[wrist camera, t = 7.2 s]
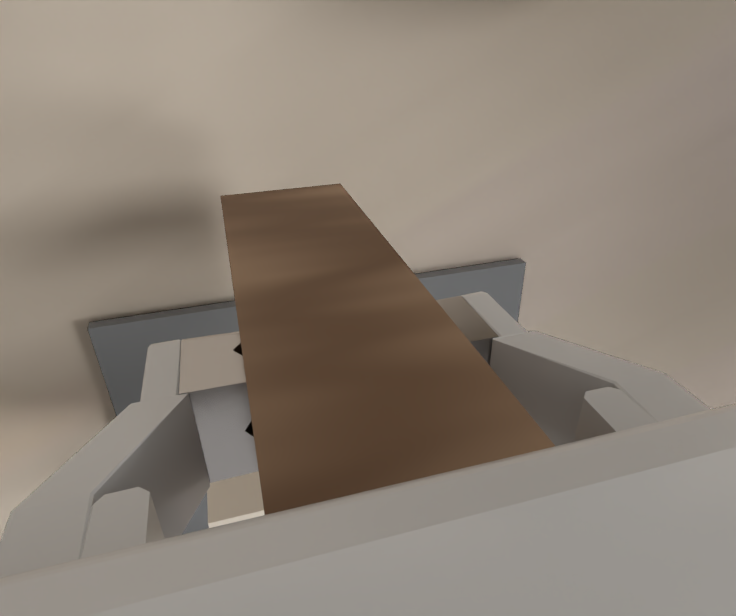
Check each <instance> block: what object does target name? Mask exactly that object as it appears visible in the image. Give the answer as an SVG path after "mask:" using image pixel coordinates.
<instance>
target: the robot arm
mask: <svg viewBox="0 0 736 616" xmlns="http://www.w3.org/2000/svg"><path fill="white" fill-rule="evenodd" d="M436 301H437V302H438V303H439V305H440V306H441V307H442V308H443V310H444V311H445V312H446V313H447V314H448V316H449V317H450V318H451V319H452V321H453V322H454V323H455V324H456V325H457V327H458V328H459V329H460V330H461V332H462V333H463V334H464V335H465V336H466V338H467V339H468V340H469V341H470V342H471V344H472V345H473V346H474V347H475V349H476V350H477V351H478V352H479V353H480V355H481V356H482V357H483V358H484V360H485V361H486V362H487V363H488V364H489V366H490V367H491V368H492V369H493V371H494V372H495V373H496V374H497V375H498V377H499V378H500V379H501V380H502V381H503V383H504V384H505V385H506V386H507V388H508V389H509V390H510V391H511V392H512V394H513V395H514V396H515V397H516V399H517V400H518V401H519V402H520V403H521V405H522V406H523V407H524V408H525V410H526V411H527V412H528V413H529V414H530V416H531V417H532V418H533V419H534V420H535V422H536V423H537V424H538V425H539V427H540V428H541V429H542V430H543V431H544V433H545V434H546V435H547V436H548V438H549V439H550V440H551V441H552V442H553V444H554V445H555V446H554V447H550V448H546V449H542V450H538V451H533V452H529V453H525V454H521V455H516V456H512V457H508V458H504V459H500V460H495V461H491V462H487V463H483V464H479V465H474V466H470V467H466V468H462V469H457V470H453V471H449V472H445V473H441V474H436V475H432V476H428V477H424V478H419V479H415V480H411V481H407V482H402V483H398V484H394V485H390V486H386V487H381V488H377V489H373V490H369V491H364V492H360V493H356V494H352V495H348V496H343V497H339V498H335V499H331V500H326V501H322V502H318V503H314V504H309V505H305V506H301V507H297V508H293V509H288V510H284V511H280V512H276V513H271V514H267V515H263V516H259V517H254V518H250V519H246V520H242V521H238V522H233V523H229V524H225V525H221V526H216V527H212V528H208V529H204V530H200V531H195V532H191V533H187V534H183V535H182V533H183V531H184V530H185V528H186V526H187V524H188V523H189V521H190V519H191V518H192V516H193V514H194V513H195V511H196V509H197V508H198V506H199V504H200V503H201V501H202V499H203V497H204V496H205V494H206V492H207V491H208V489H209V487H210V483H212V482H216V481H220V480H225V479H229V478H233V477H237V476H241V475H245V474H249V473H253V472H257V471H259V470H258V463H257V456H256V449H255V441H254V434H253V427H252V420H251V413H250V405H249V398H248V391H247V384H246V376H245V369H244V362H243V355H242V347H241V340H240V333H239V331H238V332H231V333H224V334H217V335H209V336H202V337H195V338H188V339H182V341H181V340H180V339H178V340H172V341H166V342H161V343H155V344H151V345H150V346H149V347H148V350H147V357H146V364H145V371H144V378H143V385H142V392H141V399H140V402H136V403H131V404H130V405H129V406H128V407H127V408H125V409H124V410H123V411H122V412H121V413H120V414H119V415H118V416H117V417H115V418H114V419H113V420H112V421H111V422H110V423H109V424H108V425H107V426H105V427H104V428H103V429H102V430H101V431H100V432H99V433H98V434H97V435H95V436H94V437H93V438H92V439H91V440H90V441H89V442H88V443H87V444H86V445H84V446H83V447H82V448H81V449H80V450H79V451H78V452H77V453H76V454H74V455H73V456H72V457H71V458H70V459H69V460H68V461H67V462H66V463H64V464H63V465H62V466H61V467H60V468H59V469H58V470H57V471H56V472H54V473H53V474H52V475H51V476H50V477H49V478H48V479H47V480H46V481H45V482H43V483H42V484H41V485H40V486H39V487H38V488H37V489H36V490H35V491H33V492H32V493H31V494H30V495H29V496H28V497H27V498H26V499H25V500H23V501H22V502H21V503H20V504H19V505H18V506H17V507H16V508H15V509H13V510H12V511H11V513H10V516H9V519H8V522H7V524H6V527H5V530H4V532H3V535H2V538H1V540H0V616H736V404H732V405H728V406H723V407H719V408H715V409H710V408H709V407H708V406H706V405H705V404H704V403H703V402H701V401H700V400H699V399H697V398H696V397H695V396H694V395H692V394H691V393H690V392H688V391H687V390H686V389H685V388H683V387H682V386H681V385H680V384H678V383H677V382H676V381H674V380H673V379H672V378H671V377H669V376H668V375H667V374H666V373H663V372H660V371H657V370H654V369H651V368H648V367H645V366H642V365H639V364H635V363H632V362H629V361H626V360H623V359H620V358H617V357H614V356H611V355H608V354H605V353H602V352H599V351H596V350H593V349H589V348H586V347H583V346H580V345H577V344H574V343H571V342H568V341H565V340H562V339H559V338H556V337H553V336H550V335H546V334H543V333H540V332H537V331H531V332H527V331H526V330H525V329H524V328H523V327H522V326H521V325H520V324H519V323H518V322H517V321H516V320H515V319H513V318H512V317H511V316H510V315H509V314H508V313H507V312H506V311H505V310H504V309H503V308H502V307H501V306H500V305H499V304H498V303H497V302H496V301H495V300H494V299H493V298H492V297H491V296H490V295H489V294H488V293H485V292H482V291H481V292H476V293H471V294H466V295H461V296H456V297H450V298H445V299H439V300H436Z"/></svg>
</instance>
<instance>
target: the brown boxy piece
mask: <svg viewBox="0 0 736 616" xmlns="http://www.w3.org/2000/svg"><path fill="white" fill-rule="evenodd" d="M221 203H222V210H223V217H224V225H225V232H226V239H227V246H228V253H229V261H230V268H231V275H232V282H233V290H234V297H235V304H236V311H237V319H238V326H239V333H240V340H241V347H242V355H243V362H244V369H245V376H246V384H247V391H248V398H249V405H250V413H251V420H252V427H253V434H254V441H255V449H256V456H257V463H258V470H259V478H260V485H261V492H262V499H263V506H264V514H265V515H267V514H271V513H276V512H280V511H284V510H288V509H293V508H297V507H301V506H305V505H309V504H314V503H318V502H322V501H326V500H331V499H335V498H339V497H343V496H348V495H352V494H356V493H360V492H364V491H369V490H373V489H377V488H381V487H386V486H390V485H394V484H398V483H402V482H407V481H411V480H415V479H419V478H424V477H428V476H432V475H436V474H441V473H445V472H449V471H453V470H457V469H462V468H466V467H470V466H474V465H479V464H483V463H487V462H491V461H495V460H500V459H504V458H508V457H512V456H516V455H521V454H525V453H529V452H533V451H538V450H542V449H546V448H550V447H554V446H555V445H554V444H553V442H552V441H551V440H550V439H549V438H548V436H547V435H546V434H545V433H544V431H543V430H542V429H541V428H540V427H539V425H538V424H537V423H536V422H535V420H534V419H533V418H532V417H531V416H530V414H529V413H528V412H527V411H526V410H525V408H524V407H523V406H522V405H521V403H520V402H519V401H518V400H517V399H516V397H515V396H514V395H513V394H512V392H511V391H510V390H509V389H508V388H507V386H506V385H505V384H504V383H503V381H502V380H501V379H500V378H499V377H498V375H497V374H496V373H495V372H494V371H493V369H492V368H491V367H490V366H489V364H488V363H487V362H486V361H485V360H484V358H483V357H482V356H481V355H480V353H479V352H478V351H477V350H476V349H475V347H474V346H473V345H472V344H471V342H470V341H469V340H468V339H467V338H466V336H465V335H464V334H463V333H462V332H461V330H460V329H459V328H458V327H457V325H456V324H455V323H454V322H453V321H452V319H451V318H450V317H449V316H448V314H447V313H446V312H445V311H444V310H443V308H442V307H441V306H440V305H439V303H438V302H437V301H436V300H435V299H434V297H433V296H432V295H431V294H430V293H429V291H428V290H427V289H426V288H425V286H424V285H423V284H422V283H421V282H420V280H419V279H418V278H417V277H416V275H415V274H414V273H413V272H412V271H411V269H410V268H409V267H408V266H407V264H406V263H405V262H404V261H403V260H402V258H401V257H400V256H399V255H398V254H397V252H396V251H395V250H394V249H393V247H392V246H391V245H390V244H389V243H388V241H387V240H386V239H385V238H384V236H383V235H382V234H381V233H380V232H379V230H378V229H377V228H376V227H375V225H374V224H373V223H372V222H371V221H370V219H369V218H368V217H367V216H366V215H365V213H364V212H363V211H362V210H361V208H360V207H359V206H358V205H357V204H356V202H355V201H354V200H353V199H352V197H351V196H350V195H349V194H348V193H347V191H346V190H345V189H344V188H343V186H342V185H341V184H332V185H322V186H312V187H303V188H293V189H283V190H273V191H264V192H254V193H244V194H234V195H225V196H221Z"/></svg>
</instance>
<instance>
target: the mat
mask: <svg viewBox="0 0 736 616" xmlns="http://www.w3.org/2000/svg"><path fill="white" fill-rule="evenodd" d="M525 265H526V262H524V261H523V260H522V259H513V260H506V261H500V262H493V263H486V264H479V265H473V266H466V267H459V268H452V269H446V270H439V271H432V272H426V273H419V274H415V275H416V277H417V278H418V279H419V280H420V282H421V283H422V284H423V285H424V286H425V288H426V289H427V290H428V291H429V293H430V294H431V295H432V296H433V297H434V299H435V300H439V299H445V298H450V297H456V296H461V295H466V294H471V293H476V292H481V291H482V292H485V293H488V294H489V295H490V296H491V297H492V298H493V299H494V300H495V301H496V302H497V303H498V304H499V305H500V306H501V307H502V308H503V309H504V310H505V311H506V312H507V313H508V314H509V315H510V316H511V317H512V318H513V319H515V320H516V321H517V322H518V316H519V309H520V301H521V294H522V287H523V280H524V272H525ZM238 331H239V326H238V319H237V311H236V304H235V301H230V302H224V303H217V304H210V305H203V306H197V307H190V308H183V309H176V310H170V311H163V312H156V313H150V314H143V315H136V316H129V317H123V318H116V319H109V320H102V321H96V322H90V323H89V326H88V332H89V335H90V338H91V341H92V344H93V347H94V350H95V353H96V356H97V359H98V362H99V365H100V368H101V371H102V374H103V377H104V380H105V383H106V386H107V389H108V392H109V395H110V398H111V401H112V404H113V407H114V410H115V413H116V416H118V415H119V414H120V413H121V412H122V411H123V410H124V409H125V408H127V407H128V406H129V405H130V404H131V403H136V402H140V399H141V392H142V385H143V378H144V371H145V364H146V357H147V350H148V347H149V346H150V345H151V344H155V343H161V342H166V341H172V340H178V339H180V340H181V341H182V339H188V338H195V337H202V336H209V335H217V334H224V333H231V332H238ZM208 528H209V526H208V506H207V492H206V494H205V496H204V497H203V499H202V501H201V503H200V504H199V506H198V508H197V509H196V511H195V513H194V514H193V516H192V518H191V519H190V521H189V523H188V524H187V526H186V528H185V530H184V531H183V533H182V535H183V534H187V533H191V532H195V531H200V530H204V529H208Z"/></svg>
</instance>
